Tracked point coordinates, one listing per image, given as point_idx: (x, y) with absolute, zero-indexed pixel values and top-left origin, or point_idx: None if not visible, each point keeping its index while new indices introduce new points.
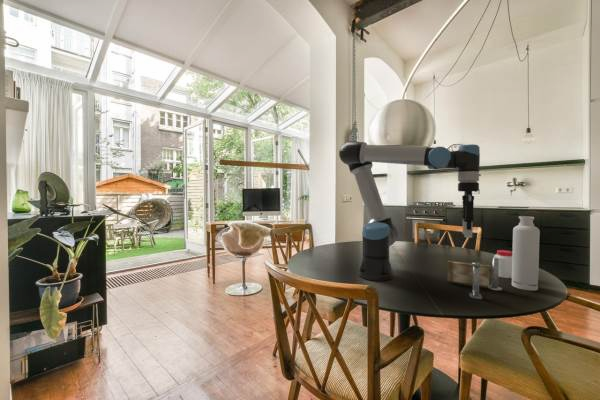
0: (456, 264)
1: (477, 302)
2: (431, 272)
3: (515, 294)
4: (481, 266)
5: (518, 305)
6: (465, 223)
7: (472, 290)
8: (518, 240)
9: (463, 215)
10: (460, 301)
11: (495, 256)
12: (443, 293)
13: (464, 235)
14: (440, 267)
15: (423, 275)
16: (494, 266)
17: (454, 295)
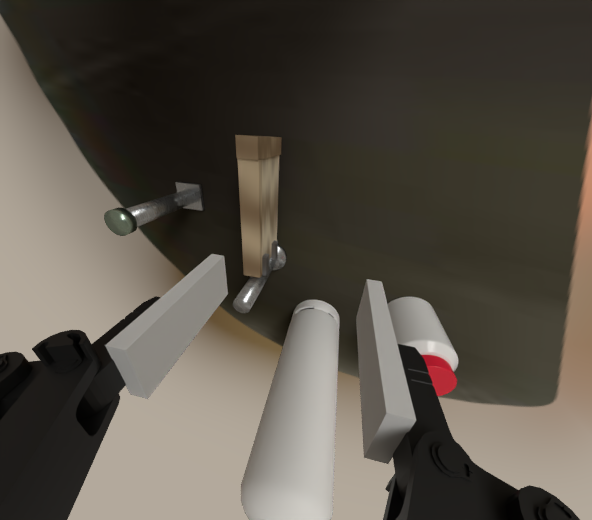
0: (240, 170)
1: (157, 190)
2: (400, 75)
3: None
4: (243, 252)
5: (190, 263)
6: (128, 331)
7: (181, 191)
8: (267, 425)
9: (407, 514)
10: (138, 151)
11: (423, 342)
12: (166, 109)
13: (215, 261)
14: (503, 130)
15: (339, 29)
16: (244, 285)
17: (169, 142)
